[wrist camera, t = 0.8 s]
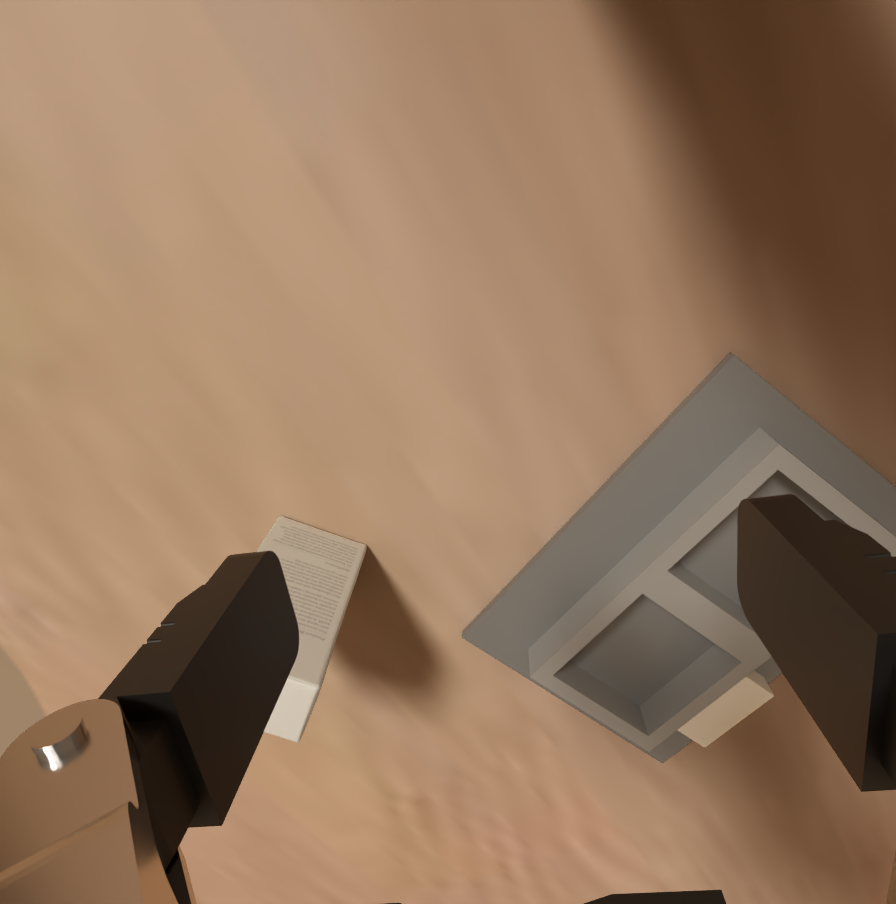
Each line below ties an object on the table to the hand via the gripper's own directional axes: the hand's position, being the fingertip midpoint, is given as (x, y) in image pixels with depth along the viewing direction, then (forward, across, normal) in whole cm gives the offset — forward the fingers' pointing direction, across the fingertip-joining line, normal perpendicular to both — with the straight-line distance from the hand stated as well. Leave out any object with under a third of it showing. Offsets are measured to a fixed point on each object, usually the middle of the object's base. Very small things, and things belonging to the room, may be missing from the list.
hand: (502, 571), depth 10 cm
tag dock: (+24, -10, +17) cm, 31 cm away
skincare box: (+25, +13, +12) cm, 30 cm away
